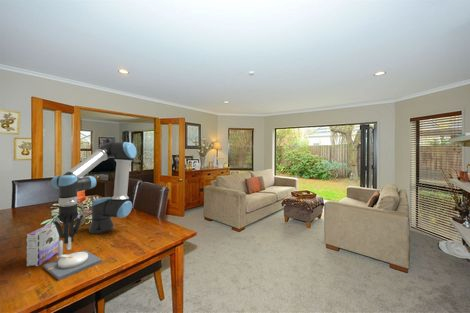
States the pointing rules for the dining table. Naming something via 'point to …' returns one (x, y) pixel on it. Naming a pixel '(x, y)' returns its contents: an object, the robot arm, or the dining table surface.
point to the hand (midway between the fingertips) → (68, 248)
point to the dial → (70, 257)
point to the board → (65, 272)
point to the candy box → (41, 245)
